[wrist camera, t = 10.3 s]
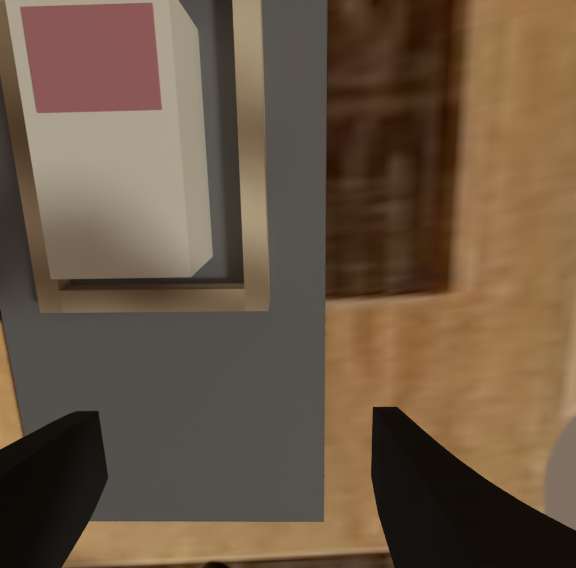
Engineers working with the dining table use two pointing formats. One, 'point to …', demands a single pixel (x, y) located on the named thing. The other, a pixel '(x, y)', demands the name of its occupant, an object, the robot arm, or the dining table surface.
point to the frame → (252, 190)
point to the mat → (203, 314)
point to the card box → (115, 135)
